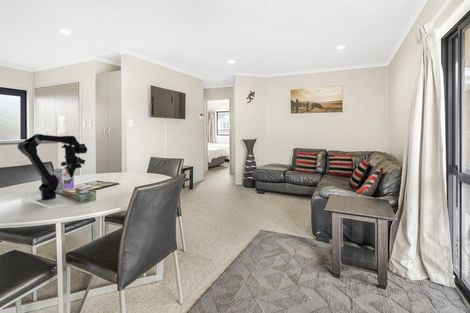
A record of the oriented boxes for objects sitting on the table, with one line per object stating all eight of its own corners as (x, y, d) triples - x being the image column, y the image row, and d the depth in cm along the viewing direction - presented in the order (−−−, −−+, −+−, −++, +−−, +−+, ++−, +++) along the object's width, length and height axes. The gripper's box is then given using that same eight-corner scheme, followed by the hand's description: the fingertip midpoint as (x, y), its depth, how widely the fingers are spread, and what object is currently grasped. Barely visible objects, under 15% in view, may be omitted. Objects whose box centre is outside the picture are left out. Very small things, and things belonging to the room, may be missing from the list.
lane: (81, 202, 155) (80, 195, 154) (62, 196, 168) (62, 190, 168) (104, 197, 167) (104, 191, 166) (85, 192, 181) (85, 186, 180)
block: (82, 199, 158) (81, 192, 157) (78, 197, 161) (78, 191, 160) (90, 197, 162) (90, 191, 162) (86, 196, 165) (86, 190, 164)
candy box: (62, 191, 183) (60, 168, 181) (54, 190, 183) (52, 168, 181) (74, 186, 197) (73, 165, 195) (67, 186, 197) (65, 165, 195)
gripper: (89, 154, 170) (90, 177, 172) (77, 152, 181) (79, 174, 183) (70, 155, 161) (72, 179, 163) (59, 153, 173) (61, 176, 174)
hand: (71, 177), depth 171 cm, fingers closed
